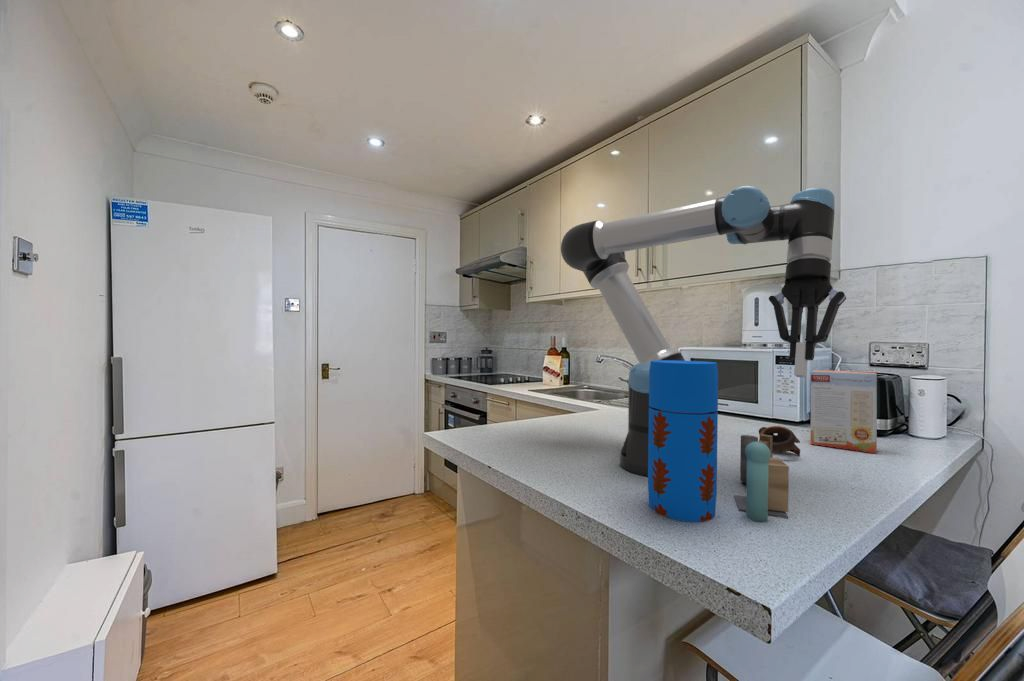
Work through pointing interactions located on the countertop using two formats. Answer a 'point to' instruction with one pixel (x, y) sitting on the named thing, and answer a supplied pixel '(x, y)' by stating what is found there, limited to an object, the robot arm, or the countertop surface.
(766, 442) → the fence
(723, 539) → the countertop surface
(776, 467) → the wooden u-shaped block
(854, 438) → the cracker box
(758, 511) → the post
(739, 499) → the pad
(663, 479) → the thermos
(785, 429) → the pottery mug
